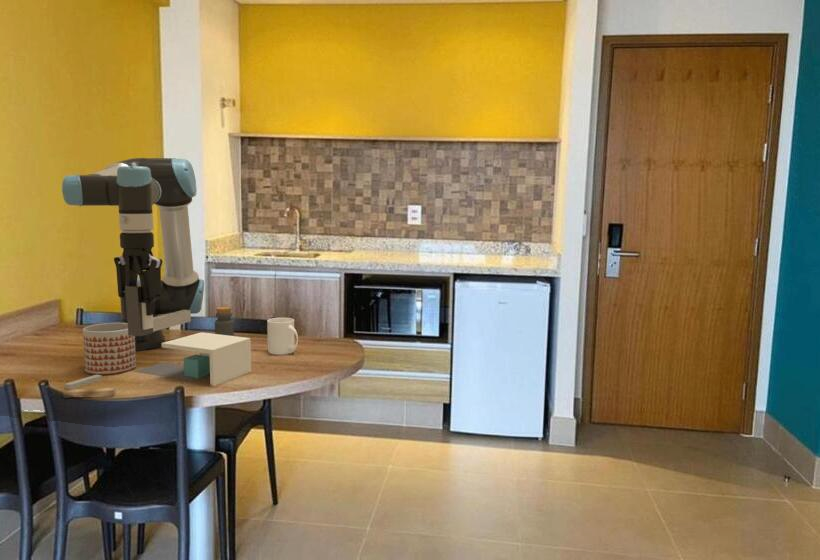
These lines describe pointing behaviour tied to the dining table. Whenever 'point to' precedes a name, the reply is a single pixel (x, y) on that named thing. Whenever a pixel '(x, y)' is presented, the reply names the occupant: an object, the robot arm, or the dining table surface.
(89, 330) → the planter
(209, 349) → the cubby
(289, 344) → the mug
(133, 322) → the dark grey l-shaped block
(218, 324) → the bottle
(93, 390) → the oak batten
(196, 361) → the block
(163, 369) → the mat
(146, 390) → the dining table surface
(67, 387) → the grey stick
